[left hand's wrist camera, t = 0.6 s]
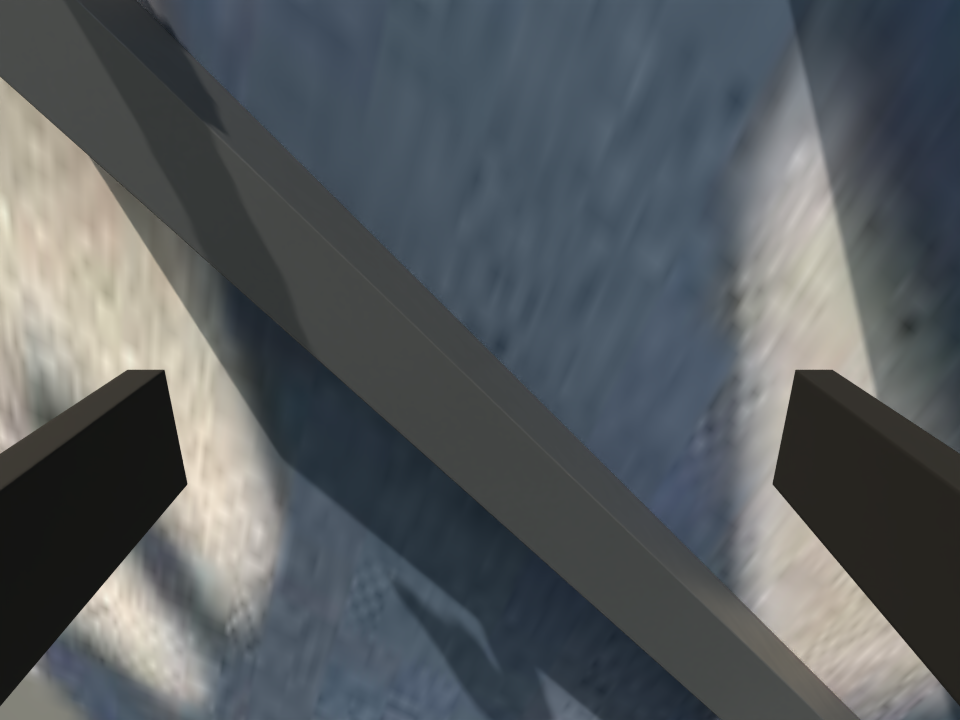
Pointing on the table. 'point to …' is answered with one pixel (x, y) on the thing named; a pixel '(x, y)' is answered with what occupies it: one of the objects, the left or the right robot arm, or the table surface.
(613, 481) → the beam
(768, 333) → the table surface
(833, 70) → the table surface
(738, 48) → the table surface
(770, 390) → the table surface
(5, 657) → the left robot arm
